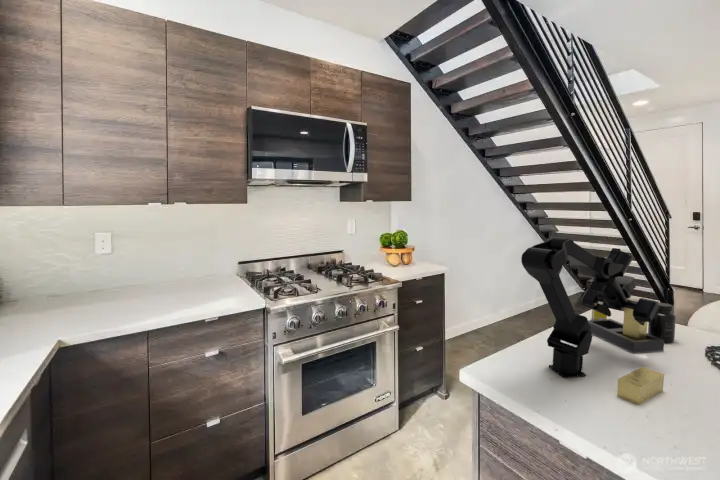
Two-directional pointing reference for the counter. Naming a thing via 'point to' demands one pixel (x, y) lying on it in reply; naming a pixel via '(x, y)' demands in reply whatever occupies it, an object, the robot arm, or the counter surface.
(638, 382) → the block
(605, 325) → the compartment tray
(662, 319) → the supplement bottle
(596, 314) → the supplement bottle
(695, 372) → the counter surface
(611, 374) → the counter surface
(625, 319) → the brass block
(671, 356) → the counter surface
